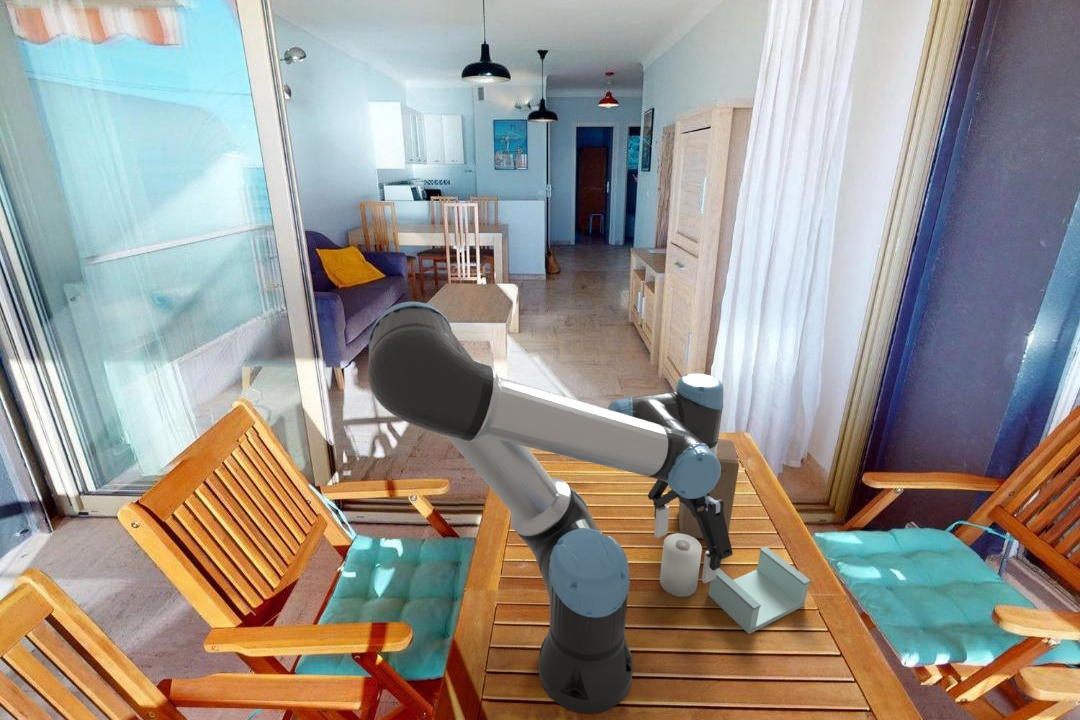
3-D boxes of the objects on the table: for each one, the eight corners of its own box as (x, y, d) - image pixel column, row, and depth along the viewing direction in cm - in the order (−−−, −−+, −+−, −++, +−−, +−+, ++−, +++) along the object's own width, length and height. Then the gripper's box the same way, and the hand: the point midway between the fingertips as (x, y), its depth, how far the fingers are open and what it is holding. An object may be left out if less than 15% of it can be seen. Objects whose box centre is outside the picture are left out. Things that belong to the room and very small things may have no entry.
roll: (675, 601, 103) (680, 562, 100) (652, 577, 109) (656, 539, 105) (704, 589, 106) (710, 550, 103) (680, 565, 112) (684, 528, 108)
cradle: (749, 634, 96) (754, 608, 94) (707, 594, 105) (711, 569, 102) (804, 606, 102) (810, 580, 100) (761, 570, 111) (765, 546, 108)
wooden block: (727, 544, 118) (740, 463, 110) (679, 537, 120) (688, 457, 112) (722, 515, 127) (734, 438, 120) (678, 509, 129) (686, 434, 121)
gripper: (764, 490, 88) (748, 593, 96) (664, 424, 109) (657, 513, 117) (729, 504, 85) (715, 609, 93) (633, 433, 106) (628, 524, 114)
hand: (683, 556), depth 105 cm, fingers open, 13 cm apart
